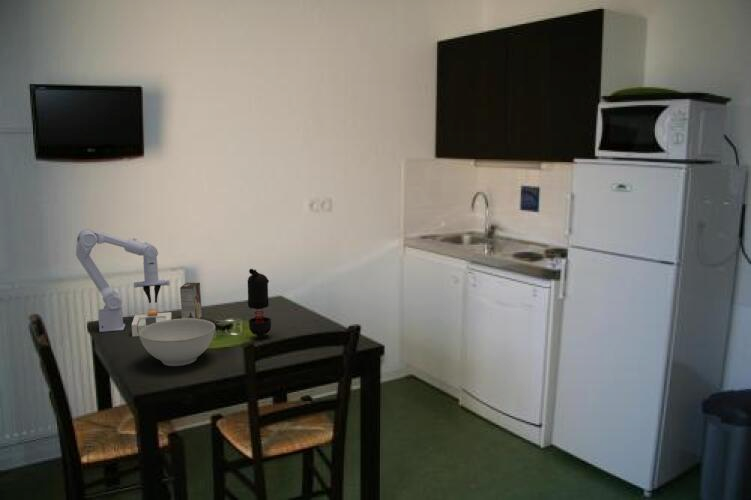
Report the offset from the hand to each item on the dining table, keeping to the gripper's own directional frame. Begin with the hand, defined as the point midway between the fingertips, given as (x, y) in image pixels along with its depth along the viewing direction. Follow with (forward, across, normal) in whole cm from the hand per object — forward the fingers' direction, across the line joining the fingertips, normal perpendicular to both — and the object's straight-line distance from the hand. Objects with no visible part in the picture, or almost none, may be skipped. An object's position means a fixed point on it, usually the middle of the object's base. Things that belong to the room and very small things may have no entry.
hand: (153, 302), depth 274 cm
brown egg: (+7, 0, +5) cm, 9 cm away
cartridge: (+8, 0, +13) cm, 15 cm away
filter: (+10, -44, +32) cm, 55 cm away
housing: (+9, 0, +10) cm, 14 cm away
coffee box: (+10, -16, -1) cm, 19 cm away
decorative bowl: (+10, -12, +51) cm, 53 cm away
